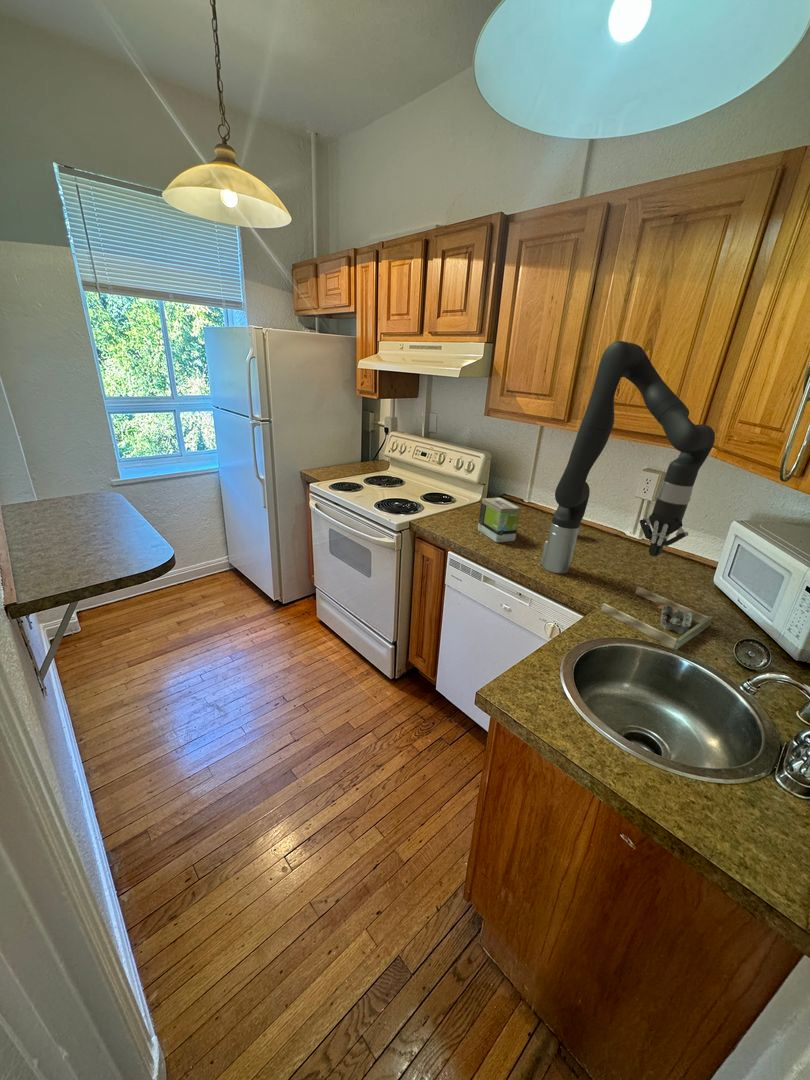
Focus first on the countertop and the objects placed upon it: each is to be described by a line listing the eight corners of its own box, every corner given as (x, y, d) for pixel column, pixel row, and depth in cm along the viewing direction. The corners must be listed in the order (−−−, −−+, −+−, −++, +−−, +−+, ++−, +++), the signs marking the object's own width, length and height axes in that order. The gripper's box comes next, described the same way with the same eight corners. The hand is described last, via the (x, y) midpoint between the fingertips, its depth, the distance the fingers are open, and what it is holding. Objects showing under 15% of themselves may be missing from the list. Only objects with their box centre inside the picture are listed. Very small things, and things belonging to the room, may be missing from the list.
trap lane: (600, 610, 128) (603, 602, 127) (636, 593, 140) (638, 585, 139) (676, 649, 112) (680, 640, 111) (709, 625, 124) (712, 617, 123)
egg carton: (660, 612, 130) (664, 601, 128) (689, 621, 126) (693, 609, 124) (657, 628, 122) (661, 615, 120) (687, 638, 118) (691, 625, 116)
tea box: (515, 541, 175) (522, 507, 170) (495, 543, 172) (501, 509, 166) (496, 528, 188) (501, 496, 182) (476, 529, 185) (481, 497, 179)
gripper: (642, 493, 118) (625, 549, 125) (692, 508, 109) (671, 567, 116) (655, 490, 123) (637, 544, 130) (704, 504, 113) (683, 562, 120)
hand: (653, 555), depth 123 cm, fingers closed
